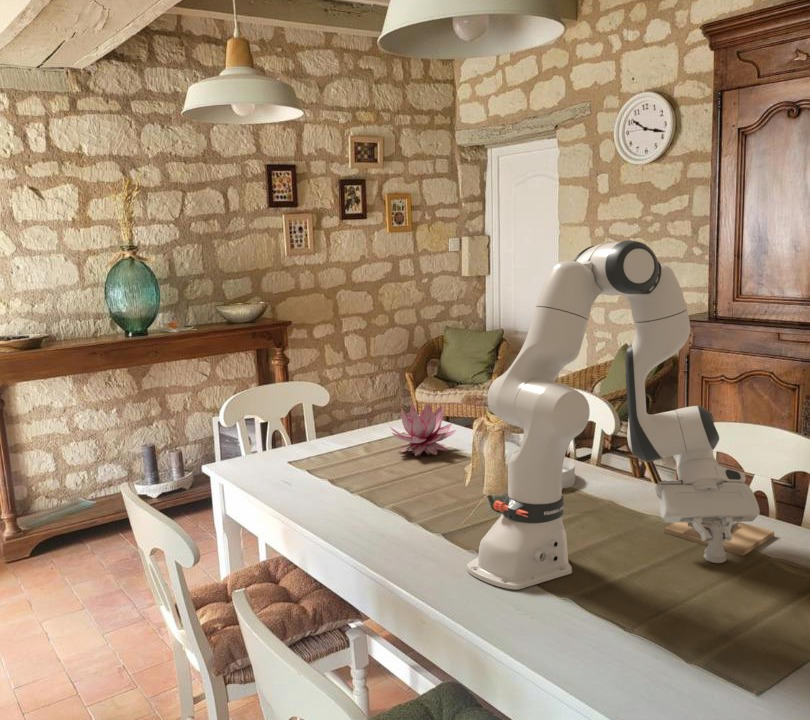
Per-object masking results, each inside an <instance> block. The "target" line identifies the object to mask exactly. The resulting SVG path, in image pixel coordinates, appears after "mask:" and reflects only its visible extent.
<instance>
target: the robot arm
mask: <svg viewBox="0 0 810 720" xmlns="http://www.w3.org/2000/svg"><path fill="white" fill-rule="evenodd" d="M599 295H600V296H601V295H605V296H611V297H612V296H621V295H623V296H624V297H625V299H626V300H627V302H628V303H629V306H630V310H631V311H630V312H631V314H632V315H631V316H632V319H633V324H634V336H633V341H632V343H631V344H630V345H628V346H627V348H626V351H625V356H624V364H625V366H624V367H625V388H626V391H625V392H626V404H627V412H628V413H627V415H628V420H627V421H628V422H627V430H626V437H627V443H628V448H629V450H630V452H631V453H632V455H633V456H634V457H636V458H637V459H639V460H641V461H643V462H646V463H651V462H655V461H658V460H662V459H663V458H667V457H673V459H674V460H675V463H676V474H677V480H675V479H674V480H666V479H665V480H661V481H659V482H658V483H657V484H656V485H655V492H656V496H657V497H658V498H659V510H660V517H661V519H662V520H663V521H664V522H665V523H676V522H692V525H693V527H694V528H695V529H696V530H697V531H698V532H699V533H700V534H701V538H702V541H710V540H711V539H712V536H711V532H710V530H706V529H705V528H704V527H703V526H702V525H701V523H702V522H712V521H715V522H716V521H719V522H722V523H723V524H724V526H726V529H725V530H724V531H723V535H724V536H723V537H722V540H723V541H730V540H731V539H732V535H731V531H730V530H731V528H732V525H733V522H741V523H744V522H745V523H746V522H747V523H748V522H749V523H750V522H753V521H754V520H756V519H757V518H758V516H760V512H761V511H760V507H759V506H760V505H759V503H758V501H757V498H756V496H755V493H754V492H753V490H752V488H751V486H749V485H748V484H747V483H745V482H746V478H747V477H746V475H745V473H744V472H742V471H738V470H735V469H731V468H729V467H724V466H722V465H719V463H718V461H717V459H716V458H715V456H714V450H715V449H716V447H717V445H718V444H719V441H720V435H719V433H718V430H717V428H716V425H715V421H714V416H713V414H712V412H711V411H709V410H708V409H706V408H705V407H703V406H701V405H693V406H686V407H682V408H681V407H680V408H676V409H673V410H669V411H663V412H659V413H655V414H649V413H648V412H647V401H646V400H647V399H646V379H647V377H648V375H649V374H650V372H651V371H653V370H654V369H655V368H656V367H658V366H659V365H660V364H662V363H664V362H665V361H667V360H668V359H670V358H671V357H673V356H674V355H676V354H677V353H678V352H679V351H680V350H681V349H683V347H684V346H685V345H686V344H687V342H688V339H689V338H690V335H691V322H690V317H689V316H690V315H689V311H688V306H687V304H686V300H685V296H684V293H683V291H682V288H681V285H680V283H679V281H678V278H677V276H676V274H675V273H674V270H673V268H671V267H670V266H669V265H667V264H665V263H660V261H659V260H658V258H657V256H656V254H655V253H654V251H653V250H652V248H651V247H649V246H648V245H647V244H646V243H644V242H640V241H637V240H628V239H627V240H623V241H608V242H603V243H600V244H596V245H591V246H588V247H586V248H585V249H583V250H582V251H581V252H579V253H578V254H577V255H576V256H575V258H574V259H573V260H563V261H560V262H557V263H555V264H554V265H553V266H552V268H551V269H550V271H549V272H548V275H547V276H546V278H545V281H544V283H543V284H542V287H541V290H540V293H539V296H538V298H537V301H536V305H535V308H534V312H533V315H532V318H531V321H530V324H529V327H528V331H527V334H526V337H525V340H524V343H523V344H522V347H521V349H520V351H519V352H518V354H517V356H516V357H515V358H514V361H513V362H512V363H511V365H510V366H509V367H508V369H507V370H506V371H504V373H503V374H501V375H500V376H498V377H496V379H494V380H493V381H492V382H491V384H490V386H489V387H488V391H487V398H486V399H487V404H488V407H489V410H490V411H491V412H492V413H493V415H495V417H497V418H499V419H500V420H501V421H503V422H504V423H506V424H508V425H510V426H514V427H517V428H521V429H522V430H523V437H522V441H521V445H520V447H519V449H517V450H516V451H514V452H513V453H512V454H510V455H511V456H510V458H509V462H508V486H507V493H506V494H505V498H504V501H503V502H502V501H500V500H498V499H496V500H495V501H494V503H493V505H492V507H493V509H494V510H495V511H498V512H501V515H500V516H499V518H497V520H496V521H495V522H494V524H493V525H492V526H491V528H489V530H488V532H487V533H486V534H485V535H484V536H483V538H482V539H481V540H480V543H479V547H478V555H477V557H476V558H474V559H473V560H471V561H469V562H467V564H466V570H467V572H468V573H469V574H470V575H471V576H473V577H475V578H476V579H479V580H481V581H482V582H485V583H487V584H489V585H493V586H496V587H499V588H503V589H508V590H515V591H516V590H522V589H525V588H527V587H532V586H534V585H538V584H541V583H544V582H548V581H551V580H554V579H557V578H561V577H564V576H565V577H566V576H568V575H570V574H572V573H573V567H572V565H571V564H570V562H569V555H568V554H569V553H568V541H567V532H566V528H565V526H564V523H563V517H562V516H564V511H565V510H564V509H565V503H564V496H563V494H562V491H563V489H562V472H563V462H564V458H566V453H567V451H568V449H569V446H570V445H571V443H572V440H574V439H575V438H577V437H578V436H579V435H580V434H581V433H583V431H584V430H585V429H586V427H587V425H588V422H589V419H590V411H591V410H590V404H589V401H588V399H587V398H586V396H585V395H584V394H583V393H581V392H580V391H579V390H577V389H575V388H573V387H571V386H570V385H568V384H565V383H562V382H557V381H555V380H556V378H557V377H558V375H559V374H560V372H562V370H563V369H564V368H565V367H566V366H567V365H569V364H570V363H573V362H574V361H575V360H576V359H577V358H578V356H579V354H580V351H581V348H582V345H583V341H584V338H585V333H586V331H587V327H588V323H589V319H590V316H591V312H592V308H593V305H594V303H595V301H596V299H597V298H598V297H599Z"/></svg>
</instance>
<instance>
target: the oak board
mask: <svg viewBox="0 0 810 720" xmlns="http://www.w3.org/2000/svg"><path fill="white" fill-rule="evenodd" d="M715 523H716V522H715ZM710 524H711V522H702V523H701V525H702V526H703V527H704V528H705V529H706V530H710V529H709V527H708V526H709V525H710ZM719 524H720V522H719ZM724 527H725V529H726V526H724ZM730 531H731V535H732V539H731V540H730V541H723V540H722V541H723V548H724V551H725V552H726V553H727V552H728V553H732V554H735V555H738V556H741V557H744V556H745V555H747V554H749V553H750V552H751V551H753V550H754V549H757V547H758V548H759V546H761V545H762V544H764V543H767V542H768V541H770V540H771V539H772V538H774V537H775V530H771V529H766V528H763V527H759V526H755V525H751V524H749V523H746V522H745V523H744V522H733V525H732V528H731V530H730ZM710 532H711V530H710ZM663 533H665V534H666V535H669V536H670V535H671V536H674V537H677V538H681V539H683V540H687V541H690V542H694V543H697V544H700V545H703V546H704V545H705V546H706V547H707V546H708V545H709V541H702V538H701V534H700V533H699V532H698V531H697V530H696V529H695V528H694V527H693V525H692V522H673V523H671V524H670V525H668V526H666V527H664V532H663Z"/></svg>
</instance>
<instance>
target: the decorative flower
mask: <svg viewBox="0 0 810 720" xmlns="http://www.w3.org/2000/svg"><path fill="white" fill-rule="evenodd" d="M426 404H427V405H425V406H424V408H423V410H422V412H421V413H420V414H419V413H418V412H417V410H416V407H415V405H414V402H412V403H411V406H410V408H409V414H408V415H407V414H406V412H405V411H404V409H403V408H402V407H403V406H401V409H400V410H401V413H400V414H401V415H400V416H401V421H402V422H401V423H402V426H403V428H404V430H405V431H406V433H407V434H408V435H409V436H408V435H406V434H403V433H401V432H399V431H397V430H396V429H394V428H393V427H391V426H390V425H389V428H390V429H391V430H392V431H393V432H391V433H392V435H393V436H394V437H396V438H397V439H399V440H400V441H401V440H402V441H404V442H408V443H409V444H407V445H406V444H405V445H402V446H399V448H405V449H403V450H400V451H399V453H406V452H408V451H410V452H411V451H412V452H411V453H410V455H411V454H414V455H415V456H421V455H422V453H423V452H425V453H426V455H428V456H430V454H431V455H436V456H437V455H438V451H440V450H441V451H449V449H448V448H446V447H445V445H446V444H445V443H440V441H443V440H445V439H447V438H448V437H451V436H452V435H453V434H455V432H457V429H455V430H451V431H450V429H451V428H452V425H453V424H452V423H449V424H447V425H444V426H442V424H443V423H442V422H443V420H444V419H443V418H444V412H445V411H444V406H443V405H442V404H441V405H440V406H439V408H437V410H436V411H435V412H434V411H433V409H432V406H431V403H430V402H428V403H426Z"/></svg>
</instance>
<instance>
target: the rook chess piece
mask: <svg viewBox="0 0 810 720" xmlns="http://www.w3.org/2000/svg"><path fill="white" fill-rule="evenodd" d="M708 527H709V529H710V530H711V536H712V539H711V540H710V541H709V545H708V546H707V545H706V548H705V549H704V552H703V553H704V554H703V557H704V559H705V560H706V561H707V562H710V563H713V564H723V563H724V562H727V551H724V548H723V541H722V537H723V536H724V535H723V531H724V530H725V527H724V524H723V523H722V522H720V524H719V521H716V523H715V521H712V522H711V524H710V525H709V526H708Z"/></svg>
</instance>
